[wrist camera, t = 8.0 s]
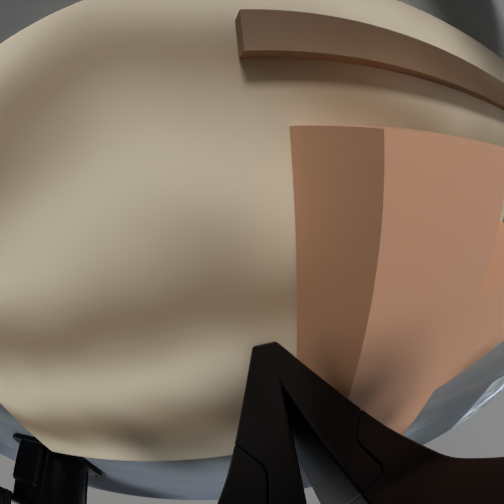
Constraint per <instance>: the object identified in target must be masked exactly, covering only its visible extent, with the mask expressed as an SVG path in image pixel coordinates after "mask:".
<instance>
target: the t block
mask: <svg viewBox="0 0 504 504" xmlns="http://www.w3.org/2000/svg"><path fill="white" fill-rule="evenodd" d="M289 129H290V141H291V155H292V171H293V188H294V208H295V233H296V270H297V357H296V358H297V359H298V360H300V361H301V362H302V363H303V364H305V365H306V366H307V367H308V368H309V369H311V370H312V371H313V372H314V373H316V374H317V375H318V376H319V377H321V378H322V379H323V380H325V381H326V382H327V383H328V384H330V385H331V386H332V387H333V388H335V389H336V390H337V391H339V392H340V393H341V394H343V395H344V396H345V397H346V398H348V399H349V400H350V401H352V402H353V403H354V404H356V405H357V406H358V407H360V408H361V410H364V411H365V412H367V413H368V414H369V415H371V416H372V417H373V418H375V419H376V420H378V421H379V422H381V423H382V424H384V425H385V426H387V427H388V428H390V429H392V430H394V431H396V432H397V433H399V434H401V435H404V434H405V432H406V431H407V430H408V428H409V427H410V426H411V424H412V423H413V422H414V420H415V419H416V417H417V416H418V414H419V413H420V411H421V410H422V409H423V407H424V406H425V404H426V402H427V401H428V399H429V398H430V396H431V395H432V393H433V391H434V390H435V389H437V388H439V387H440V386H442V385H444V384H445V383H447V382H448V381H450V380H451V379H453V378H454V377H456V376H457V375H459V374H460V373H462V372H463V371H465V370H466V369H467V368H469V367H470V366H472V365H473V364H474V363H476V362H477V361H478V360H480V359H481V358H482V357H483V356H485V355H486V354H487V353H489V352H490V351H491V350H492V349H493V348H495V347H496V346H497V345H498V344H499V343H501V342H502V341H503V340H504V223H503V222H501V221H500V216H501V211H502V204H503V197H504V147H502V146H498V145H494V144H490V143H486V142H482V141H478V140H473V139H468V138H464V137H458V136H453V135H447V134H442V133H435V132H428V131H421V130H413V129H405V128H393V127H380V126H360V125H298V126H289ZM361 410H360V411H361Z"/></svg>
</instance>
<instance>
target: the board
mask: <svg viewBox="0 0 504 504" xmlns="http://www.w3.org/2000/svg"><path fill="white" fill-rule="evenodd" d="M298 125H360V126H380V127H393V128H405V129H413V130H421V131H428V132H435V133H442V134H447V135H453V136H458V137H464V138H468V139H473V140H478V141H482V142H486V143H490V144H494V145H498V146H502V147H504V60H503V59H502V58H500V57H499V56H498V55H496V54H495V53H494V52H492V51H491V50H489V49H488V48H487V47H485V46H484V45H482V44H481V43H479V42H478V41H476V40H475V39H473V38H471V37H470V36H468V35H467V34H465V33H463V32H462V31H460V30H458V29H456V28H455V27H453V26H451V25H449V24H447V23H446V22H444V21H442V20H440V19H438V18H436V17H434V16H432V15H430V14H428V13H426V12H423V11H421V10H419V9H417V8H414V7H412V6H410V5H407V4H405V3H402V2H400V1H397V0H83V1H80V2H78V3H75V4H73V5H71V6H68V7H66V8H64V9H61V10H59V11H57V12H55V13H53V14H51V15H49V16H47V17H45V18H43V19H41V20H39V21H37V22H35V23H34V24H32V25H30V26H28V27H26V28H25V29H23V30H21V31H20V32H18V33H16V34H15V35H13V36H11V37H10V38H8V39H7V40H5V41H4V42H2V43H1V44H0V403H1V404H2V405H3V406H4V407H5V408H6V409H7V410H8V412H9V413H10V414H11V415H12V416H13V417H14V418H15V419H16V420H17V421H18V422H19V423H20V424H21V425H22V426H24V427H25V428H26V429H27V430H28V431H29V432H30V433H31V434H32V435H33V436H34V437H36V438H37V439H38V440H39V441H40V442H41V443H42V444H44V445H45V446H46V447H47V448H48V449H50V450H51V451H52V452H57V453H62V454H68V455H74V456H81V457H88V458H97V459H108V460H123V461H177V460H192V459H203V458H212V457H220V456H228V455H232V454H233V449H234V446H235V440H236V434H237V429H238V424H239V418H240V413H241V408H242V402H243V397H244V391H245V386H246V380H247V375H248V369H249V364H250V358H251V352H252V348H253V346H256V345H261V344H266V343H270V342H278V343H279V344H280V345H282V346H283V347H284V348H285V349H286V350H288V351H289V352H290V353H291V354H292V355H294V356H295V357H297V270H296V233H295V208H294V188H293V171H292V155H291V141H290V129H289V126H298ZM500 221H501V222H503V223H504V197H503V204H502V211H501V216H500Z"/></svg>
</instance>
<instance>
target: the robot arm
mask: <svg viewBox="0 0 504 504" xmlns="http://www.w3.org/2000/svg"><path fill="white" fill-rule="evenodd" d="M360 410H361V408H360V407H358V406H357V405H356V404H354V403H353V402H352V401H350V400H349V399H348V398H346V397H345V396H344V395H343V394H341V393H340V392H339V391H337V390H336V389H335V388H333V387H332V386H331V385H330V384H328V383H327V382H326V381H325V380H323V379H322V378H321V377H319V376H318V375H317V374H316V373H314V372H313V371H312V370H311V369H309V368H308V367H307V366H306V365H305V364H303V363H302V362H301V361H300V360H298V359H297V358H296V357H295V356H294V355H292V354H291V353H290V352H289V351H288V350H286V349H285V348H284V347H283V346H282V345H280V344H279V343H278V342H270V343H266V344H261V345H256V346H253V348H252V352H251V358H250V364H249V369H248V375H247V380H246V386H245V391H244V397H243V402H242V408H241V413H240V418H239V424H238V429H237V434H236V440H235V446H234V449H233V454H232V459H231V463H230V467H229V471H228V475H227V478H226V481H225V484H224V487H223V490H222V493H221V496H220V499H219V501H218V504H307V503H306V498H305V493H304V488H303V483H302V478H301V474H300V469H299V464H298V459H297V456H298V458H299V460H300V463H301V465H302V467H303V469H304V471H305V473H306V475H307V477H308V479H309V481H310V483H311V485H312V487H313V489H314V491H315V493H316V495H317V497H318V499H319V501H320V503H321V504H504V457H497V458H455V457H450V456H446V455H443V454H440V453H438V452H435V451H433V450H431V449H429V448H427V447H425V446H423V445H421V444H419V443H417V442H415V441H413V440H411V439H409V438H407V437H405V436H403V435H401V434H399V433H397V432H396V431H394V430H392V429H390V428H388V427H387V426H385V425H384V424H382V423H381V422H379V421H378V420H376V419H375V418H373V417H372V416H371V415H369V414H368V413H367V412H365V411H364V410H361V411H360ZM13 439H15V440H16V441H17V442H18V443H19V444H20V445H19V449H18V454H17V458H16V463H15V467H14V473H13V477H14V479H15V485H14V492H13V493H12V492H11V491H9V490H8V489H4V488H2V487H0V504H11V501H12V502H14V503H16V504H86V503H87V487H88V476H91V477H98V478H102V473H101V472H99V471H98V470H97V469H95V468H94V467H92V466H91V465H90V464H88V463H87V462H86V461H84V460H83V459H82V458H80V457H79V456H74V455H68V454H62V453H57V452H52V451H51V450H50V449H48V448H47V447H46V446H45V445H44V444H42V443H41V442H40V441H39V440H38V439H35V438H30V437H26V436H22V435H18V434H13Z"/></svg>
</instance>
